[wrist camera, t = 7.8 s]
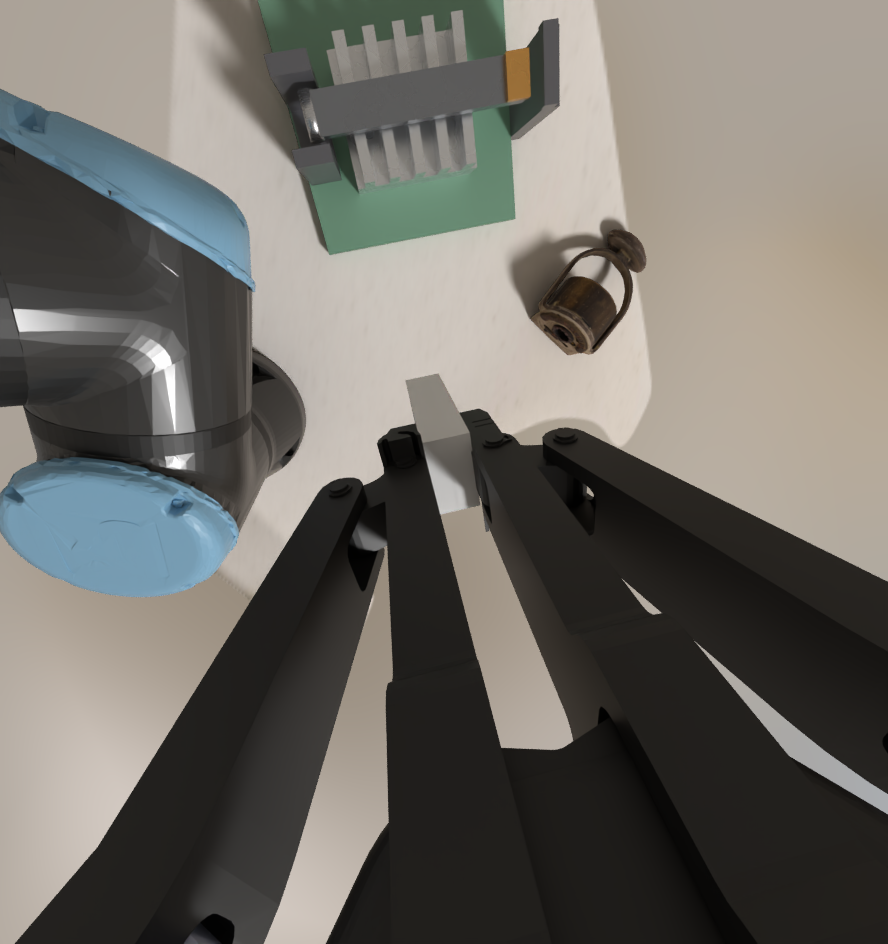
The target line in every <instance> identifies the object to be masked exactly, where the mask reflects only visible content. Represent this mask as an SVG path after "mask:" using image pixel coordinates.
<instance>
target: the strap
mask: <svg viewBox="0 0 888 944" xmlns="http://www.w3.org/2000/svg"><path fill="white" fill-rule="evenodd" d="M298 96H299V100H300V103H301V107H302V111H303V115H304V118H305V122H306V126H307V130H308V133H309V137H310V141H311V143H321V142H324V141H325V140H326V139H331V138H337V137H342V136H347V135H353V134H358V133H363V132H369V131H374V130H380V129H385V128H390V127H396V126H401V125H407V124H412V123H417V122H423V121H428V120H434V119H439V118H444V117H450V116H455V115H460V114H466V113H471V112H477V111H482V110H487V109H493V108H498V107H504V106H509V105H514V104H520V103H523V102H524V101H525V100H526V99H529V98H530V97H531V88H530V58H529V47H528V48H523V49H517V50H512V51H506V52H505V54H504V55H499V56H494V57H488V58H483V59H477V60H472V61H466V62H461V63H455V64H450V65H444V66H439V67H433V68H428V69H422V70H417V71H411V72H406V73H400V74H395V75H389V76H384V77H378V78H373V79H367V80H362V81H356V82H351V83H345V84H340V85H334V86H329V87H323V88H318V89H311V88H303V89H300V90H298Z"/></svg>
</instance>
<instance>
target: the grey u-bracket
mask: <svg viewBox="0 0 888 944" xmlns="http://www.w3.org/2000/svg"><path fill="white" fill-rule="evenodd" d="M264 57H265V60H266V64H267V67H268V71H269V74H270V77H271V79H272V81H273V82H274V84H275V86H276V87H277V89H278V91H279V93H280V94H281V96H282V98H283V99H284V101H285V103H286V104H287V106H288V108H289V109H290V111H291V114H292V117H293V121H294V124H295V128H296V132H297V135H298V139H299V142H300V146H301V148H300V149H295V150H292V153H293V157H294V160H295V164H296V167H297V169H298V170H299V171H300V173H301V174H302V175H303V176H304V177H305V178H306V179H307V180H308V181H309V183H310V184H311V185H312V186H313V185H318V184H324V183H329V182H335V181H340V180H342V178H341V174H340V170H339V165H338V161H337V157H336V153H335V149H334V145H333V141H332V138H331V139H326V140H325V141H324V142H321V143H311V141H310V137H309V133H308V130H307V126H306V122H305V118H304V115H303V111H302V107H301V103H300V100H299V96H298V90H300V89H303V88H311V89H318V88H319V86H318V83H317V80H316V77H315V74H314V71H313V68H312V65H311V62H310V59H309V56H308V53H307V50H306V47H305V48H299V49H293V50H287V51H281V52H275V53H269V54H264Z"/></svg>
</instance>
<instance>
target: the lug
mask: <svg viewBox="0 0 888 944" xmlns="http://www.w3.org/2000/svg"><path fill="white" fill-rule="evenodd" d="M528 47H529V58H530V88H531V97H530V98H529V99H526V100H525V101H524V102H523V103H520V104H514V105H509V113H510V131H511V140H515V139H520V138H521V137H522V136H523V135H525V134H526V133H527V132H528V131H530V130H531V129H532V128H533V127H534V126H536V125H537V124H538V123H539V122H541V121H542V120H543V119H544V118H546V117H547V116H548V115H549V114H550V113H552V112H553V111H554V110H555V109H557V108H558V107H559V24H558V18H557V19H551V20H545V21H543V22H542V23H541V25H540V26H539V31H538V32H537V34H536V35H535V36H534V38H533V39H532V41H531V42H530V43H529V45H528V46H527V48H528Z"/></svg>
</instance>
